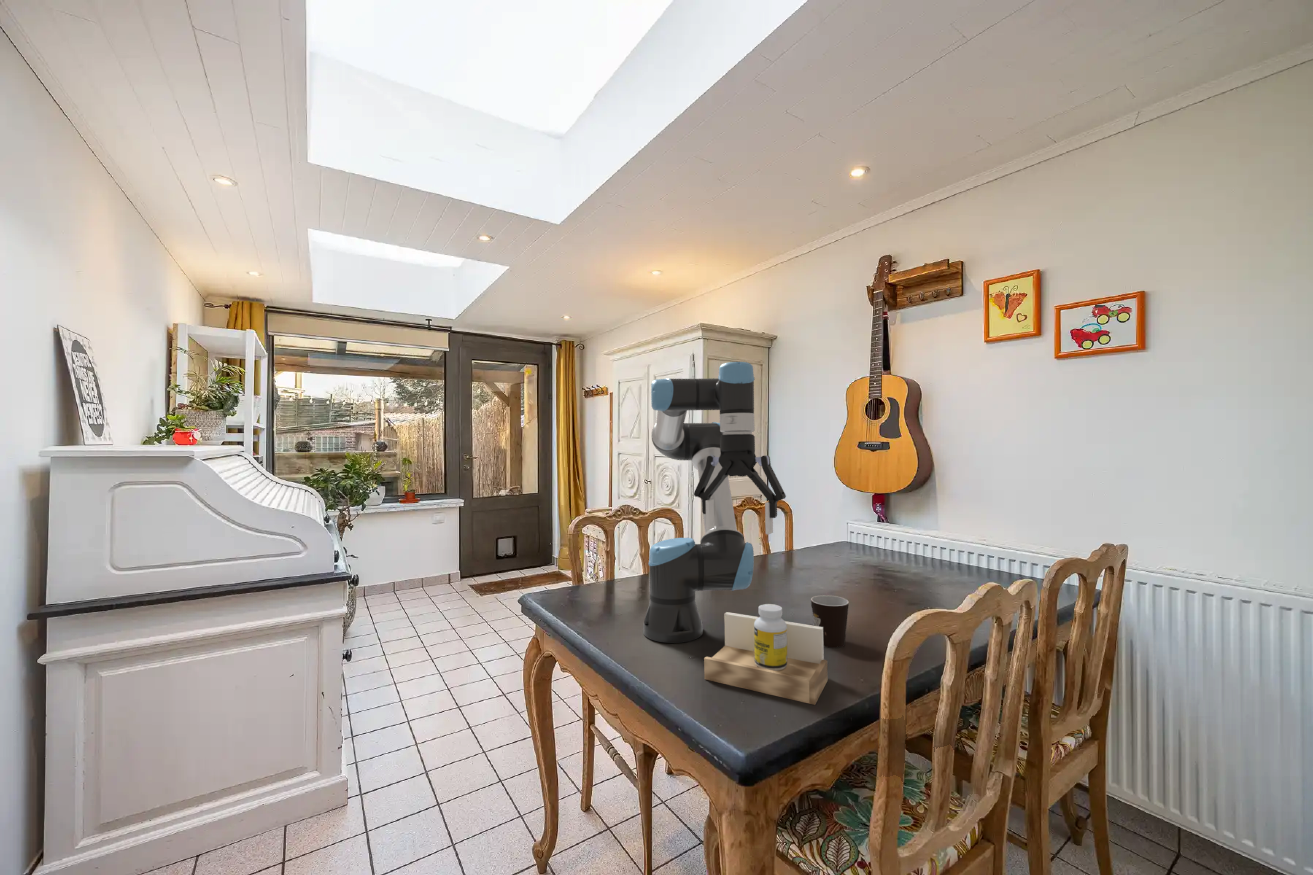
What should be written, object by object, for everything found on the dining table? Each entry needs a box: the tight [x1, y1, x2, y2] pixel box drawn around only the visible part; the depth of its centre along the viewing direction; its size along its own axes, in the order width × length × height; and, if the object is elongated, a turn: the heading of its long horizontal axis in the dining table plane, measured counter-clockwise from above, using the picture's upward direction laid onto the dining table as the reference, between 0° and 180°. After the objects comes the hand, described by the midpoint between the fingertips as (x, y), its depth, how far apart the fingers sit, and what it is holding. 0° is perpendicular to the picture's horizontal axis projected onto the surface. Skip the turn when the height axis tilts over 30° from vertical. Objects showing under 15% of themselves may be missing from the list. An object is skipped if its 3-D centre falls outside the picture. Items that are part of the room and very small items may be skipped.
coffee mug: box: [810, 594, 850, 649], centre depth 124 cm, size 12×9×10 cm
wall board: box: [723, 611, 825, 664], centre depth 109 cm, size 21×2×10 cm, turn 60°
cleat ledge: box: [703, 645, 829, 706], centre depth 104 cm, size 22×11×4 cm, turn 60°
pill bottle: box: [754, 603, 787, 671], centre depth 103 cm, size 6×6×12 cm
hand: (738, 531), depth 112 cm, fingers open, 13 cm apart
